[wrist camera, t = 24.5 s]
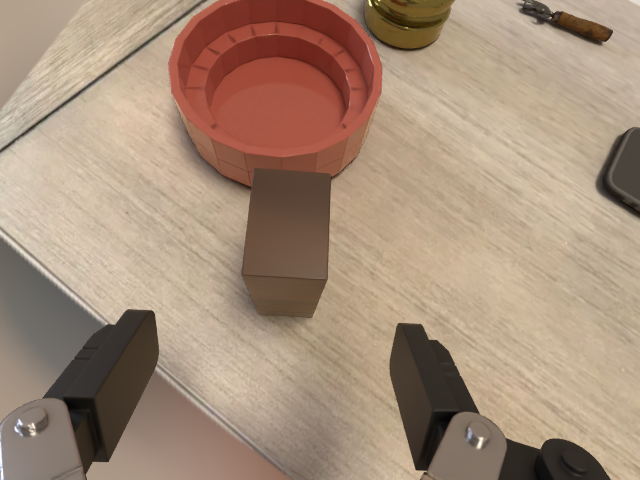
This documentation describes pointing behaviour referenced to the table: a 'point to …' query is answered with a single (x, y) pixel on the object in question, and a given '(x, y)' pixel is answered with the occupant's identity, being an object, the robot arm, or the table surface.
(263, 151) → the bowl
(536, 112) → the table surface
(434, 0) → the brass weight
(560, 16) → the can opener
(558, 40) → the table surface
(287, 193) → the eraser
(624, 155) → the smartphone
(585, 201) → the table surface
